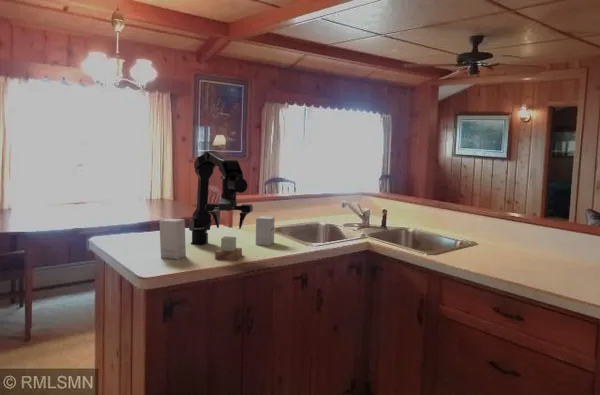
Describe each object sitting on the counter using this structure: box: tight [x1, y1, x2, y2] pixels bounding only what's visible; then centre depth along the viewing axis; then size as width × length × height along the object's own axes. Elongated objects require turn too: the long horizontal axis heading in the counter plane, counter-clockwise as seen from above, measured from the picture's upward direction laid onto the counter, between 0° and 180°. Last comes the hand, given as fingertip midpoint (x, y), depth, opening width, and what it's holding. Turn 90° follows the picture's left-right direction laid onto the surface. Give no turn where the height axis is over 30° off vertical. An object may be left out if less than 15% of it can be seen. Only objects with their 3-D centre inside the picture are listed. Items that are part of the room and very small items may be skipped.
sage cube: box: [220, 236, 237, 251], centre depth 191 cm, size 5×5×5 cm
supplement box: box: [255, 215, 275, 246], centre depth 219 cm, size 7×7×13 cm
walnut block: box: [214, 246, 243, 261], centre depth 192 cm, size 9×9×4 cm
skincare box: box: [159, 217, 187, 260], centre depth 188 cm, size 8×7×16 cm
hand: (229, 228), depth 190 cm, fingers open, 9 cm apart
